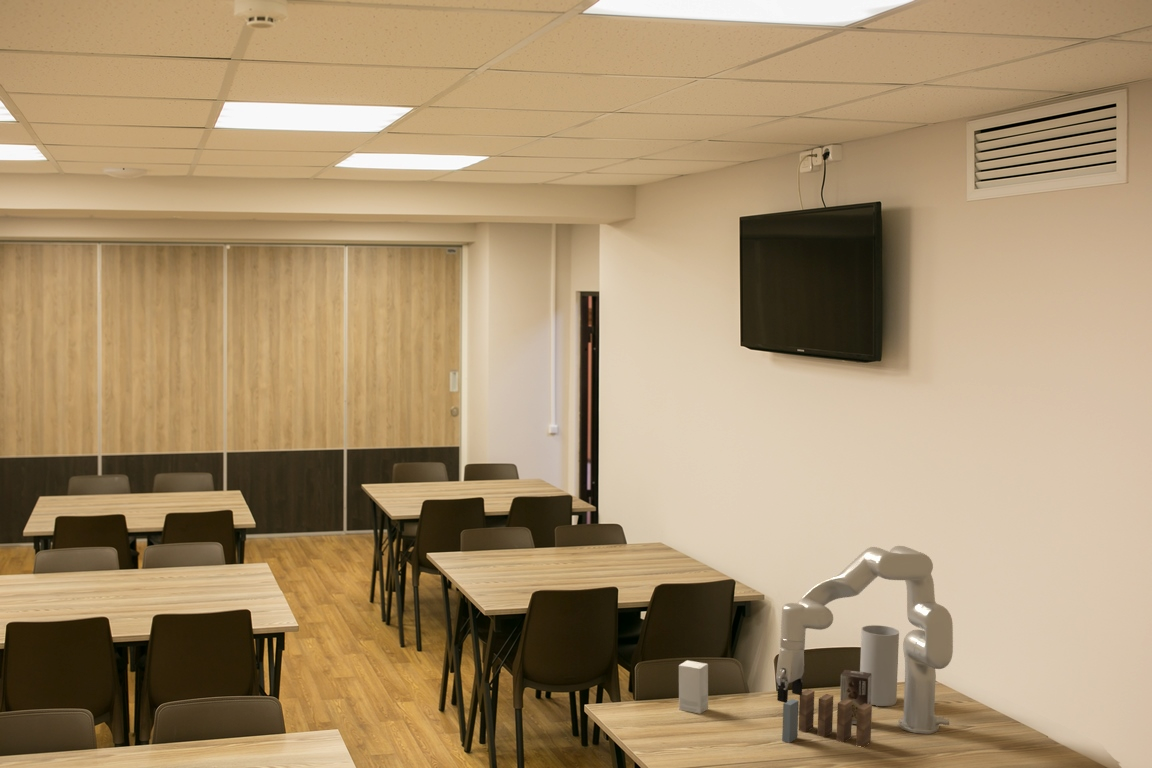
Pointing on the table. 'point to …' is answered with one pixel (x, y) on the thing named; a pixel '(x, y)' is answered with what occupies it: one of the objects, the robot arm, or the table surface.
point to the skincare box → (693, 687)
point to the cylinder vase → (880, 662)
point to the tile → (790, 720)
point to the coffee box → (856, 689)
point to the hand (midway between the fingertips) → (789, 697)
